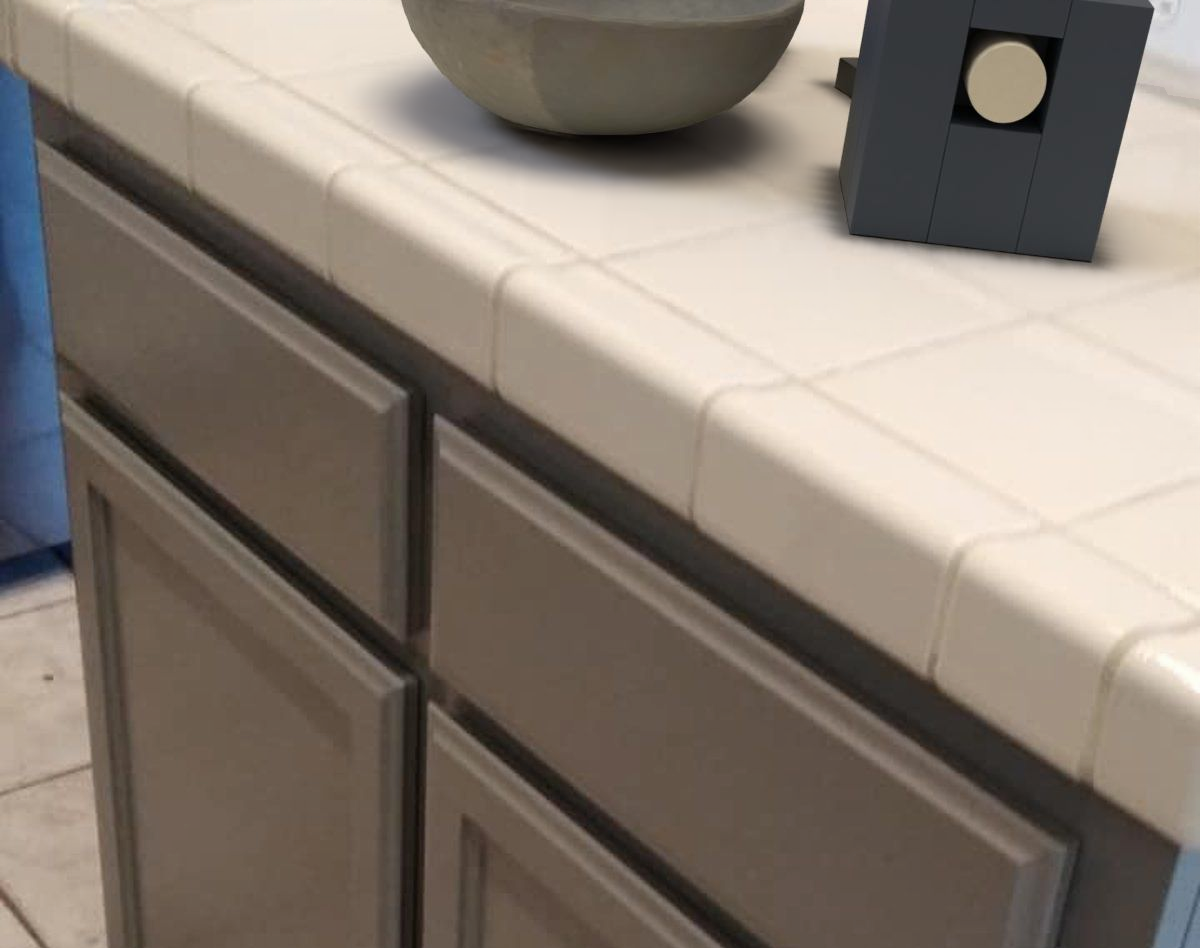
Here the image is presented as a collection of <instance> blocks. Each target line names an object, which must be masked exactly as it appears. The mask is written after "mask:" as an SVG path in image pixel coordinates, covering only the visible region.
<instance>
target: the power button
mask: <svg viewBox="0 0 1200 948" xmlns="http://www.w3.org/2000/svg"><path fill="white" fill-rule="evenodd" d="M960 72H961V77H962V80H963V82H964V85H965V88H966V90H967V93H968V95H969V98H970V100H971V103H972V105H973V107H974V108H975V109H976V111H977V112H978V113H979V114H980V115H981V116H983V117H984V118H986V119H988V120H990V121H993V122H998V123H1009V122H1014V121H1017V120H1020V119H1022V118H1024V117H1025V116H1027V115H1028V114H1029V113H1031V112H1032V111H1033V110H1034V109H1035V108H1036V107H1037V105H1038V104H1039V102H1040V101H1041V99H1042V97H1043V94H1044V92H1045V88H1046V71H1045V68H1044V65H1043V63H1042V61H1041V59H1040V57H1039V55H1038V53H1037V51H1036V49H1035V47H1034V45H1033V43H1032V42H1031V40H1030V38H1029V37H1028V36H1027V35H1026V34H1022V33H1013V32H1005V31H996V30H988V29H982V30H981V31H979V32H978V33H976V34H975V35H974V36H973V37H972V38H971V39H970V40H969V42H968V43H967V45H966V47H965V51H964V56H963V61H962V66H961V71H960Z"/></svg>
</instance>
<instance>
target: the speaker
mask: <svg viewBox="0 0 1200 948" xmlns="http://www.w3.org/2000/svg"><path fill="white" fill-rule="evenodd" d="M1155 9H1156V8H1155V7H1154V5H1153V4H1152V3H1151V1H1150V0H867V6H866V11H865V16H864V23H863V28H862V35H861V42H860V46H859V52H858V57H859V58H858V63H857V69H856V75H855V81H854V87H853V93H852V97H851V99H850V105H849V111H848V116H847V122H846V129H845V134H844V140H843V146H842V152H841V158H840V163H839V169H838V174H839V180H840V186H841V191H842V196H843V202H844V209H845V213H846V218H847V225H848V230H849V234H851V235H858V236H859V235H861V236H867V237H868V236H869V237H877V238H885V239H894V240H903V241H911V242H919V243H920V242H921V243H928V244H935V245H944V246H952V247H953V246H954V247H962V248H971V249H979V250H980V249H981V250H988V251H996V252H1005V253H1016V254H1022V255H1030V256H1031V255H1032V256H1040V257H1047V258H1048V257H1049V258H1057V259H1066V260H1073V261H1083V262H1093V260H1094V259H1093V258H1094V254H1095V251H1096V246H1097V243H1098V239H1099V234H1100V230H1101V227H1102V222H1103V218H1104V214H1105V210H1106V206H1107V202H1108V198H1109V194H1110V190H1111V186H1112V181H1113V178H1114V174H1115V170H1116V167H1117V162H1118V157H1119V154H1120V150H1121V146H1122V141H1123V138H1124V134H1125V131H1126V126H1127V123H1128V118H1129V114H1130V109H1131V105H1132V102H1133V98H1134V93H1135V89H1136V86H1137V82H1138V77H1139V73H1140V69H1141V65H1142V61H1143V58H1144V54H1145V50H1146V45H1147V41H1148V38H1149V33H1150V30H1151V25H1152V21H1153V18H1154V13H1155ZM982 29H988V30H996V31H1005V32H1013V33H1022V34H1026V35H1027V36H1028V37H1029V38H1030V40H1031V42H1032V43H1033V45H1034V47H1035V49H1036V51H1037V53H1038V55H1039V57H1040V59H1041V61H1042V63H1043V65H1044V68H1045V71H1046V88H1045V92H1044V94H1043V97H1042V99H1041V101H1040V102H1039V104H1038V105H1037V107H1036V108H1035V109H1034V110H1033V111H1032V112H1031V113H1029V114H1028V115H1027V116H1025V117H1024V118H1022V119H1020V120H1017V121H1014V122H1009V123H998V122H993V121H990V120H988V119H986V118H984V117H983V116H981V115H980V114H979V113H978V112H977V111H976V109H975V108H974V107H973V105H972V103H971V100H970V98H969V95H968V93H967V90H966V88H965V85H964V82H963V80H962V77H961V72H960V71H961V66H962V61H963V56H964V51H965V47H966V45H967V43H968V42H969V40H970V39H971V38H972V37H973V36H974V35H975V34H976V33H978V32H979V31H981V30H982Z"/></svg>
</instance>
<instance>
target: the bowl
mask: <svg viewBox="0 0 1200 948" xmlns="http://www.w3.org/2000/svg"><path fill="white" fill-rule="evenodd" d="M400 1H401V7H402V9H403V13H404V15H405V16H406V20H407V22H408V25H409V27H410V31H411V32H412V34H413V35H414V37H415V38H416V40H417V42H418V43H419V45H420V46H421V48H422V49H423V51H425V53H426V54H427V55H428V56H429V58H430V60H431V61H432V62H433V64H434V66H435V67H436V68H437V70H438V71H439V72H440V74H442V75H443V76H444V77H445V78H446V79H447V80H448V81H449V82H450V83H451V84H452V85H453V86H454V87H455V88H456V89H458V91H460V92H461V93H462V94H463V95H465V96H466V97H467V98H469V99H470V100H471V101H472V102H474V103H475V104H476V105H478V106H480V107H482V108H483V109H486V110H487V111H489V112H491V113H492V114H494V115H496V116H498V117H500V118H502V119H504V120H507V121H509V122H511V123H515V124H518V125H523V126H527V127H530V128H534V129H539V130H545V131H551V132H556V133H562V134H571V135H578V136H580V135H581V136H631V135H632V136H633V135H646V134H653V133H661V132H669V131H674V130H679V129H683V128H686V127H690V126H693V125H695V124H699V123H701V122H704V121H707V120H709V119H711V118H714V117H715V116H718V115H720V114H723V113H724V112H726V111H728V110H730V109H731V108H732V109H733V107H734V106H736V105H738V104H739V103H741V102H742V101H744V100H745V99H746V98H747V97H748V96H750V95H751V94H752V93H753V92H754V91H755V90H756V89H757V88H758V87H759V86H760V85H761V84H762V83H763V82H764V81H765V80H766V79H767V78H768V76H769V75H770V74H771V73H772V72H773V70H774V69H775V68H776V66H777V65H778V63H779V61H780V60H781V58H782V57H783V55H784V54H785V52H786V51H787V49H788V47H789V45H790V44H791V42H792V40H793V38H794V35H795V33H796V31H797V29H798V27H799V24H801V23H800V22H801V19H802V17H803V14H804V11H805V3H806V0H400Z"/></svg>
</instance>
